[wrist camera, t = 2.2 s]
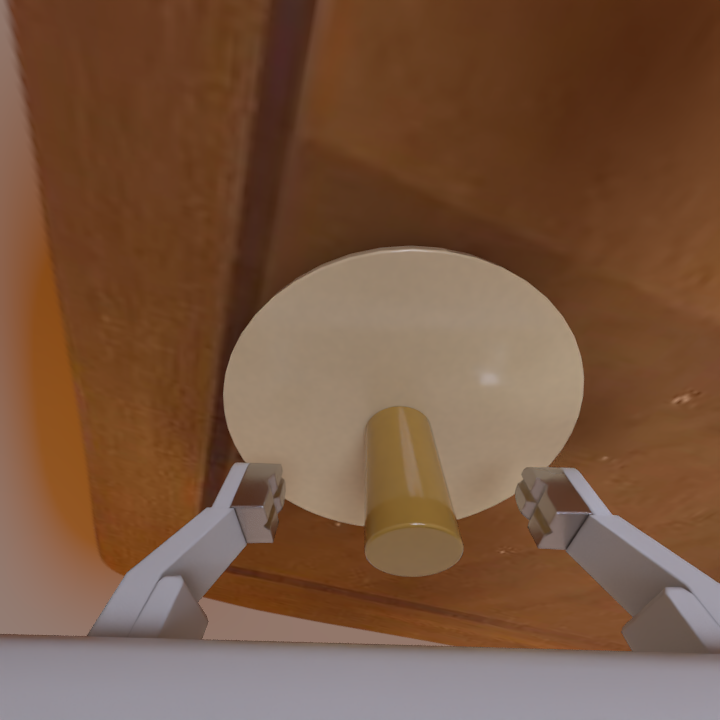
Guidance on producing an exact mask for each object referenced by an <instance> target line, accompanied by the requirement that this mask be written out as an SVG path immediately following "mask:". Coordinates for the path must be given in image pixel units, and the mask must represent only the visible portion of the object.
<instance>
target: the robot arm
mask: <svg viewBox="0 0 720 720" xmlns="http://www.w3.org/2000/svg"><path fill="white" fill-rule="evenodd" d="M282 472H283V470H282V466H281V464H266V463H237V462H236V463H235V464H234V465H233V466H232V467H231V469H230V471H229V473H228V475H227V477H226V479H225V481H224V483H223V485H222V487H221V489H220V491H219V493H218V495H217V497H216V499H215V501H214V503H213V505H212V507H211V508H206V509H205V510H203V511H202V512H201V513H200V514H198V515H197V516H196V517H195V518H193V519H192V520H191V521H190V522H189V523H187V524H186V525H185V526H184V527H182V528H181V529H180V530H179V531H177V532H176V533H175V534H174V535H173V536H171V537H170V538H169V539H168V540H166V541H165V542H164V543H163V544H162V545H160V546H159V547H158V548H157V549H155V550H154V551H153V552H152V553H150V554H149V555H148V556H147V557H146V558H144V559H143V560H142V561H141V562H139V563H138V564H137V565H136V566H134V567H133V568H132V569H131V570H130V571H128V572H127V573H126V575H125V576H124V578H123V580H122V581H121V583H120V584H119V586H118V588H117V589H116V591H115V592H114V594H113V595H112V597H111V598H110V600H109V602H108V603H107V605H106V606H105V608H104V610H103V611H102V613H101V614H100V616H99V617H98V619H97V621H96V622H95V624H94V625H93V627H92V629H91V630H90V632H89V633H88V635H87V636H59V635H57V636H56V635H18V634H0V720H720V584H719V583H718V582H716V581H715V580H713V579H712V578H710V577H709V576H707V575H706V574H704V573H703V572H701V571H700V570H698V569H697V568H695V567H694V566H692V565H691V564H689V563H688V562H686V561H685V560H683V559H682V558H680V557H679V556H677V555H676V554H674V553H673V552H671V551H670V550H669V549H667V548H666V547H664V546H663V545H661V544H660V543H658V542H657V541H655V540H654V539H652V538H651V537H649V536H648V535H646V534H645V533H643V532H642V531H640V530H639V529H637V528H636V527H634V526H633V525H631V524H630V523H628V522H627V521H625V520H624V519H622V518H621V517H619V516H618V515H612V514H611V513H610V511H609V510H608V509H607V507H606V506H605V505H604V503H603V502H602V501H601V500H600V498H599V497H598V496H597V494H596V493H595V492H594V490H593V489H592V488H591V486H590V485H589V484H588V483H587V481H586V480H585V479H584V477H583V476H582V475H581V473H580V472H579V471H578V470H576V469H575V468H556V467H526V468H525V469H524V470H523V472H522V474H521V475H522V477H523V479H524V480H522V481H521V482H519V483H518V484H517V487H516V490H515V497H516V502H517V506H518V508H519V510H520V512H521V514H522V515H524V516H525V517H526V518H527V519H528V520H529V523H528V529H529V531H530V533H531V535H532V537H533V539H534V541H535V543H536V545H537V547H538V548H542V549H562V550H566V552H567V553H568V554H569V555H570V556H571V557H572V558H573V559H574V560H575V561H576V562H577V563H578V564H579V565H580V566H581V567H582V568H583V569H584V570H586V571H587V572H588V573H589V574H590V575H591V576H592V577H593V578H594V579H595V580H596V581H597V582H598V583H599V584H600V585H601V586H602V587H603V588H604V589H605V590H606V591H607V592H608V593H609V594H610V595H611V596H612V597H613V598H614V599H615V600H616V601H617V602H618V603H619V604H620V605H621V606H622V607H623V608H624V609H625V610H626V611H627V612H628V613H629V614H630V615H631V616H632V617H633V618H632V619H631V620H630V621H628V622H627V623H626V624H625V625H624V626H623V628H622V631H621V632H622V634H623V636H624V638H625V639H626V641H627V643H628V645H629V646H630V648H631V650H632V651H601V650H565V649H529V648H493V647H457V646H421V645H385V644H349V643H348V644H347V643H313V642H276V641H240V640H204V639H202V638H203V635H204V632H205V629H206V627H207V624H208V619H207V616H206V614H205V613H204V611H203V610H202V608H201V607H200V605H199V604H198V602H199V600H200V599H201V598H202V597H203V596H204V595H205V593H206V592H207V591H208V590H209V589H210V587H211V586H212V585H213V584H214V583H215V582H216V580H217V579H218V578H219V577H220V576H221V574H222V573H223V572H224V571H225V570H226V569H227V567H228V566H229V565H230V564H231V563H232V561H233V560H234V559H235V558H236V557H237V556H238V554H239V553H240V552H241V551H242V550H243V548H244V547H245V546H246V545H247V544H246V543H273V542H274V538H275V534H276V531H277V527H278V523H279V520H278V516H277V514H278V513H279V512H280V511H281V510H282V508H283V504H284V500H285V492H286V485H285V480H284V479H283V478H282V477H281V475H282Z"/></svg>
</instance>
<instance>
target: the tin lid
mask: <svg viewBox="0 0 720 720" xmlns="http://www.w3.org/2000/svg"><path fill="white" fill-rule="evenodd" d="M583 390H584V372H583V365H582V358H581V354H580V351H579V348H578V345H577V343H576V340H575V337H574V335H573V333H572V331H571V329H570V328H569V326H568V324H567V322H566V321H565V319H564V317H563V316H562V314H561V313H560V312H559V311H558V310H557V309H556V307H555V306H554V305H553V304H552V303H551V302H550V300H549V299H548V298H547V297H546V296H544V295H543V294H542V293H541V292H540V291H538V290H537V289H536V288H535V287H533V286H532V285H531V284H530V283H529V282H527V281H526V280H524V279H522V278H521V277H519V276H517V275H515V274H513V273H512V272H510V271H508V270H506V269H505V268H503V267H501V266H499V265H498V264H496V263H493V262H490V261H488V260H485V259H482V258H480V257H477V256H474V255H472V254H468V253H463V252H459V251H454V250H449V249H445V248H438V247H423V246H398V247H384V248H377V249H372V250H367V251H362V252H358V253H353V254H349V255H346V256H344V257H341V258H338V259H335V260H332V261H330V262H327V263H324V264H322V265H320V266H318V267H316V268H314V269H312V270H310V271H309V272H307V273H305V274H303V275H301V276H299V277H297V278H296V279H295V280H293V281H292V282H291V283H289V284H288V285H287V286H285V287H284V288H282V289H281V290H280V291H278V292H277V293H276V294H275V295H274V296H273V297H272V298H271V299H270V300H269V301H268V302H267V303H266V304H265V305H264V306H263V307H262V308H261V309H260V310H259V311H258V312H257V313H256V314H255V315H254V317H253V318H252V320H251V321H250V322H249V324H248V325H247V326H246V328H245V329H244V331H243V332H242V333H241V335H240V337H239V339H238V341H237V343H236V345H235V347H234V349H233V351H232V353H231V356H230V359H229V363H228V366H227V369H226V373H225V380H224V389H223V401H224V413H225V418H226V422H227V426H228V430H229V432H230V435H231V437H232V440H233V442H234V445H235V446H236V448H237V450H238V452H239V453H240V455H241V457H242V458H243V460H244V461H245V462H246V463H266V464H281V466H282V470H283V472H282V475H281V477H282V478H283V479H284V480H285V485H286V492H285V499H286V500H288V501H290V502H291V503H293V504H295V505H297V506H299V507H301V508H303V509H305V510H307V511H309V512H312V513H314V514H317V515H319V516H322V517H325V518H328V519H332V520H335V521H338V522H343V523H348V524H352V525H358V526H364V553H365V555H366V558H367V560H368V561H369V563H370V564H371V565H372V566H374V567H375V568H377V569H378V570H381V571H383V572H385V573H388V574H392V575H397V576H406V577H418V576H427V575H432V574H436V573H439V572H442V571H444V570H446V569H448V568H450V567H452V566H453V565H455V564H456V563H457V562H458V561H459V560H460V558H461V557H462V554H463V550H464V544H463V540H462V537H461V533H460V529H459V526H458V522H457V520H458V519H461V518H464V517H467V516H470V515H473V514H476V513H479V512H481V511H483V510H486V509H488V508H490V507H493V506H495V505H496V504H498V503H500V502H502V501H504V500H506V499H508V498H509V497H511V496H512V495H514V494H515V490H516V487H517V484H518V483H519V482H521V481H522V480H524V479H523V477H522V475H521V474H522V472H523V470H524V469H525V468H526V467H548V466H549V465H550V464H551V463H552V462H553V460H554V459H555V458H556V456H557V455H558V454H559V453H560V451H561V450H562V449H563V447H564V445H565V444H566V442H567V440H568V438H569V437H570V435H571V433H572V431H573V429H574V426H575V424H576V421H577V419H578V416H579V413H580V408H581V404H582V400H583Z"/></svg>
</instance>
